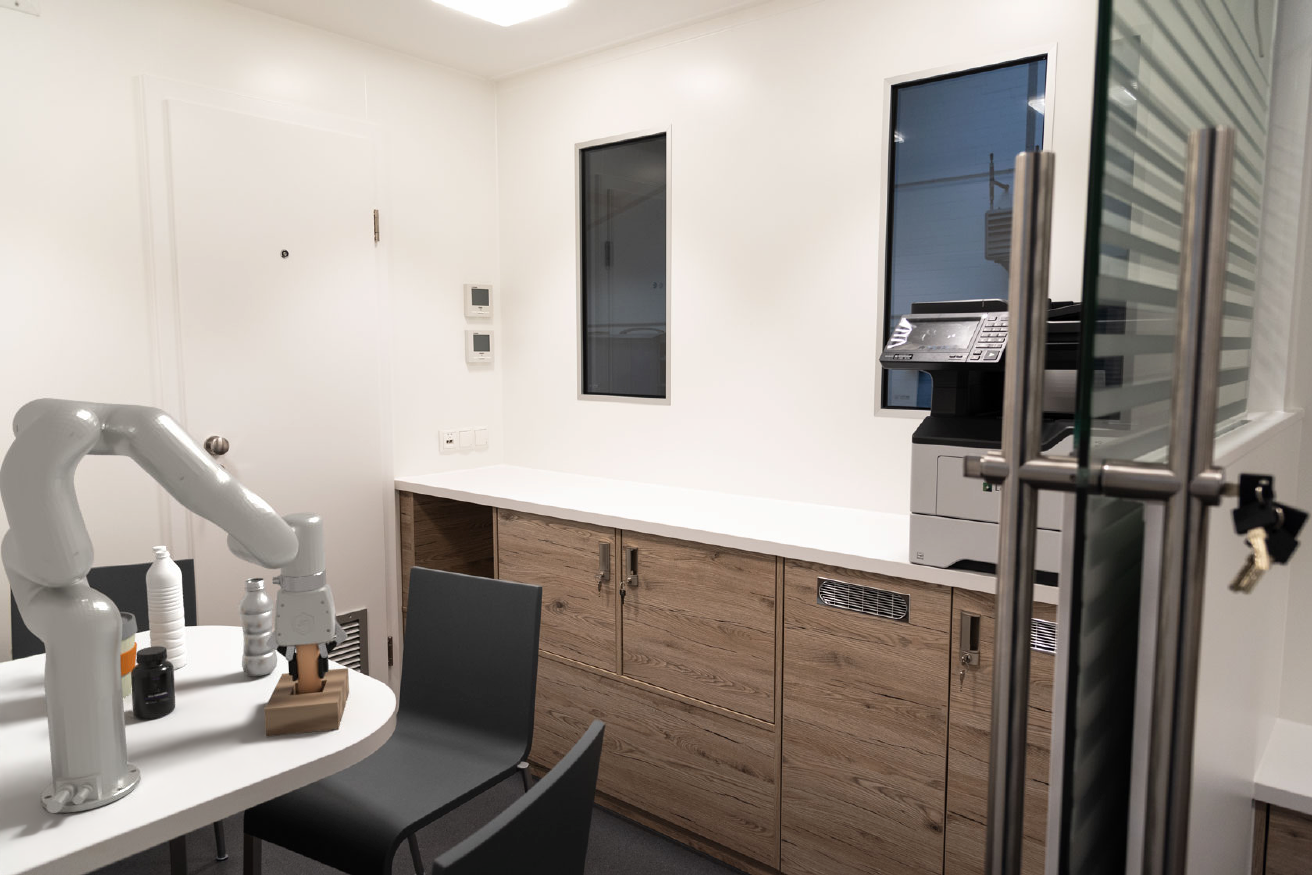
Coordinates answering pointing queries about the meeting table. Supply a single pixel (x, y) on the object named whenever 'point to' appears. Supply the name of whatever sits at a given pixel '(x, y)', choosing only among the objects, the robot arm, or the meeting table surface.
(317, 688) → the peg
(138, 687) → the supplement bottle
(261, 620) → the plastic bottle
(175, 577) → the water bottle
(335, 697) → the socket block
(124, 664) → the reusable coffee cup
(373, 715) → the meeting table surface
